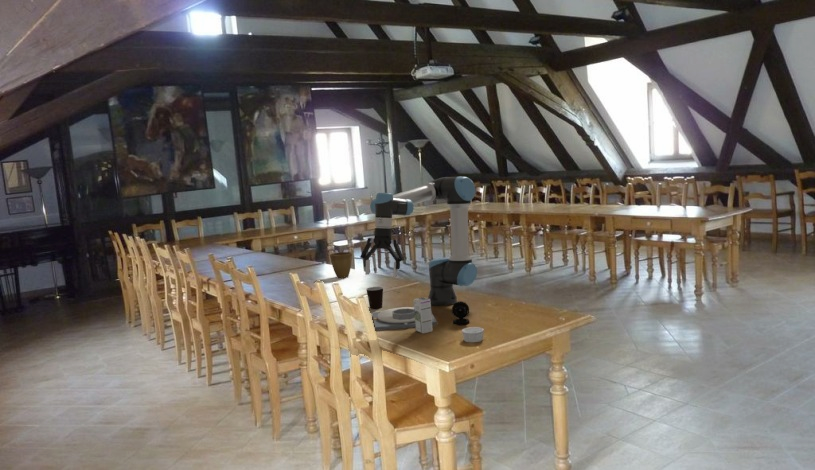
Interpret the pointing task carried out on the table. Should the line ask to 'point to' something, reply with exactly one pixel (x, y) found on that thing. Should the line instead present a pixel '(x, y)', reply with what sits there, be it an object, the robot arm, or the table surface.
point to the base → (385, 326)
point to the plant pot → (341, 263)
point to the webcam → (460, 313)
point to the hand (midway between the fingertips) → (381, 275)
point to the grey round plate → (397, 315)
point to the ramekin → (473, 334)
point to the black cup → (375, 297)
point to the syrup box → (423, 315)
